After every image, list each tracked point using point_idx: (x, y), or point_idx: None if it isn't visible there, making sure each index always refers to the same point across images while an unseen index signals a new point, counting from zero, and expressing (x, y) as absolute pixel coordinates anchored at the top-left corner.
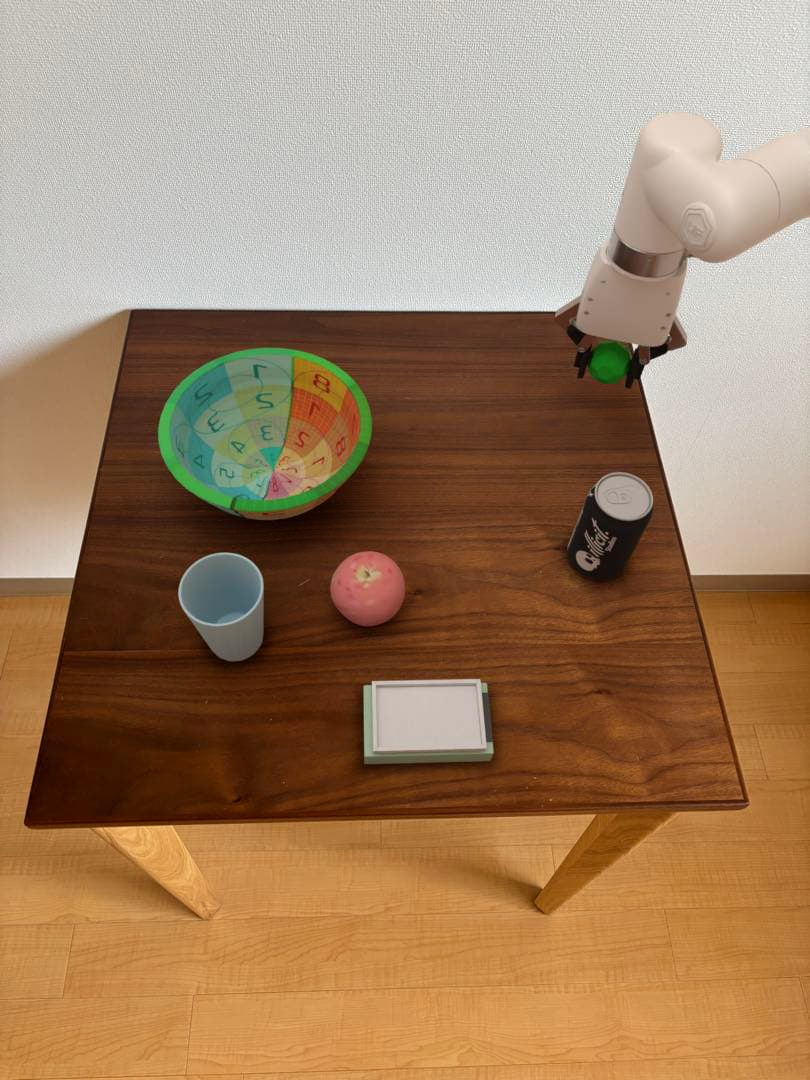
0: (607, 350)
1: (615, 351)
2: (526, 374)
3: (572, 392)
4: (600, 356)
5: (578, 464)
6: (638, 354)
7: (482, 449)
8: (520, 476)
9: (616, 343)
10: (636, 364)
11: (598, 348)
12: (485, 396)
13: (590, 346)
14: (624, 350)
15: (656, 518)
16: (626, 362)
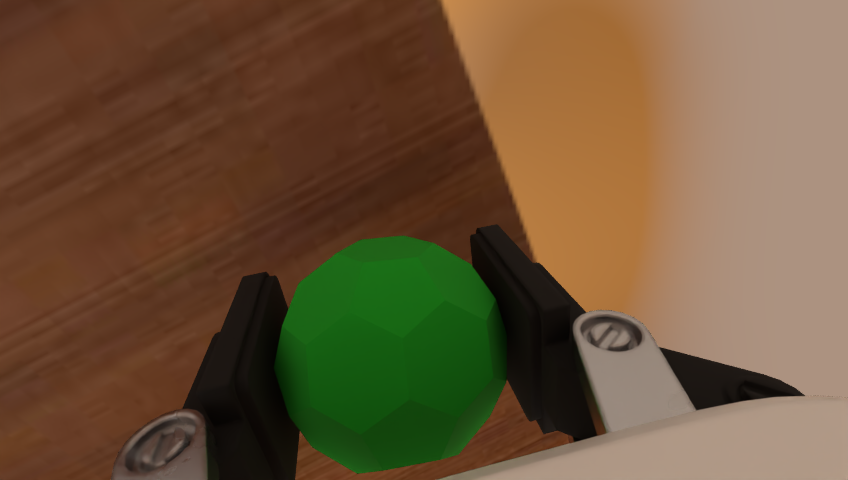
0: (380, 468)
1: (428, 454)
2: (75, 187)
3: (277, 189)
4: (352, 470)
5: None
6: (566, 423)
7: None
8: None
9: (416, 404)
10: (551, 430)
11: (316, 427)
12: (24, 340)
13: (263, 441)
14: (474, 400)
15: None
16: (493, 407)
